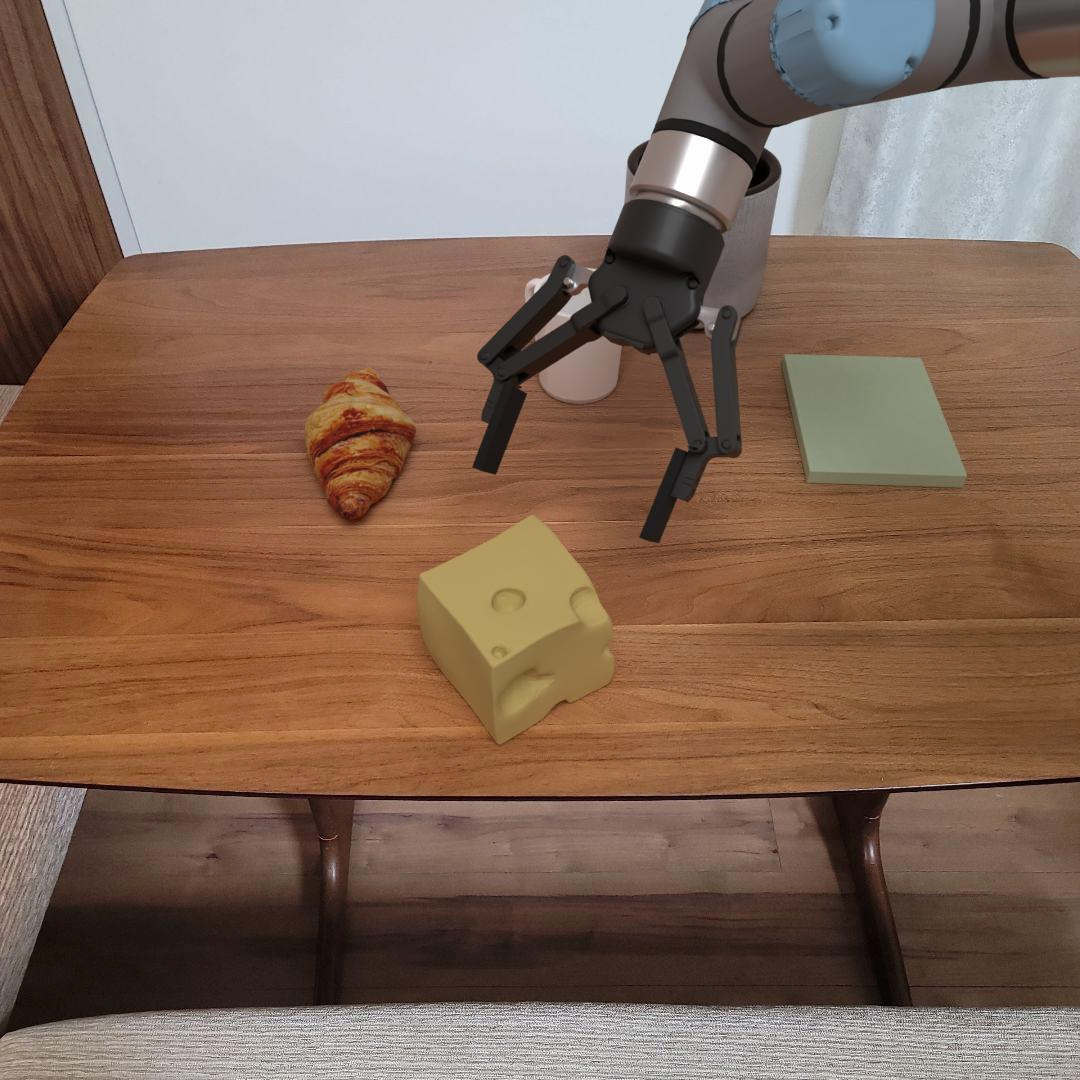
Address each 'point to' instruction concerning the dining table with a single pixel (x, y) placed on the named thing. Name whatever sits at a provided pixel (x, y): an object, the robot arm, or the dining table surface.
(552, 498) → the dining table surface
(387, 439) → the croissant
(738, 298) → the planter
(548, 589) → the cheese
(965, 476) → the board
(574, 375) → the mug
